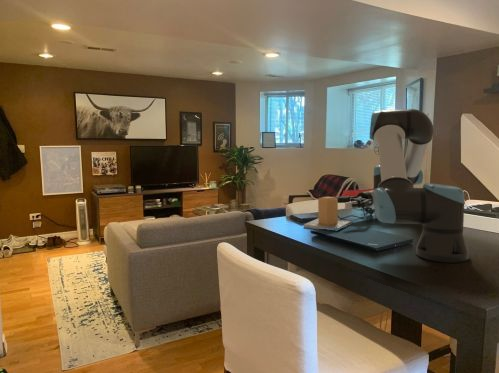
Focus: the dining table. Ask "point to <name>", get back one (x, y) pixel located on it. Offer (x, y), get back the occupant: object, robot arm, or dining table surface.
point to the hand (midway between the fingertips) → (334, 203)
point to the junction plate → (317, 225)
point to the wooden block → (328, 210)
